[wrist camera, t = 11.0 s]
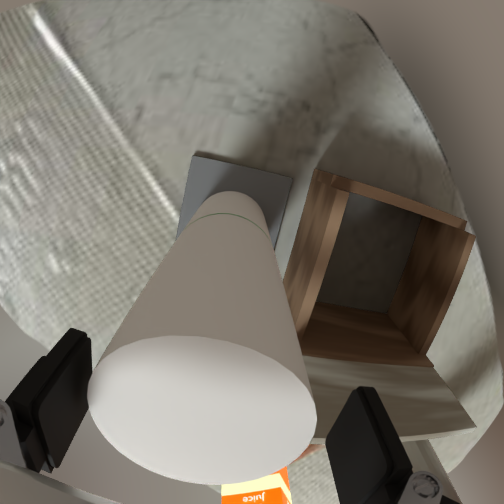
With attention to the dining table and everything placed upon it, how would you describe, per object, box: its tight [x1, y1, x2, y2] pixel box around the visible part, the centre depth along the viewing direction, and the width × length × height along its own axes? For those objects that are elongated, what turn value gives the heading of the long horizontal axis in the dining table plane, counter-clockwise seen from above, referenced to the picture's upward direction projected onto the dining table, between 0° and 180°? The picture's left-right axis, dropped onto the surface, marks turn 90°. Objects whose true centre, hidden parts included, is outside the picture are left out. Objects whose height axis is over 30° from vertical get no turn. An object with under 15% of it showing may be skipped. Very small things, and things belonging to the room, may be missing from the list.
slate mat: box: [176, 155, 293, 249], centre depth 33 cm, size 12×10×1 cm
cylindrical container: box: [87, 191, 317, 485], centre depth 20 cm, size 7×7×25 cm
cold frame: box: [283, 169, 477, 444], centre depth 25 cm, size 15×15×20 cm
